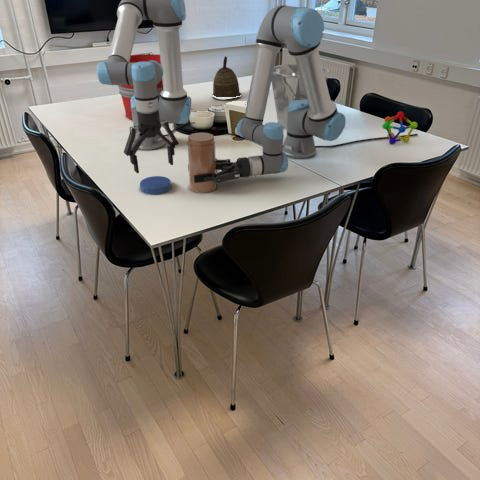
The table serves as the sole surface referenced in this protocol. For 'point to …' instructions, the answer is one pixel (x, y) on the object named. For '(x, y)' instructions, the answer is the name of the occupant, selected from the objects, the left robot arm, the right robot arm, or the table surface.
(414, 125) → the educational toy
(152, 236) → the table surface
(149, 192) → the lid
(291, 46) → the right robot arm
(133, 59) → the bucket
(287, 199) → the table surface
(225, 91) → the bell
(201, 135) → the jar
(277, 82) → the bucket
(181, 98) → the left robot arm
